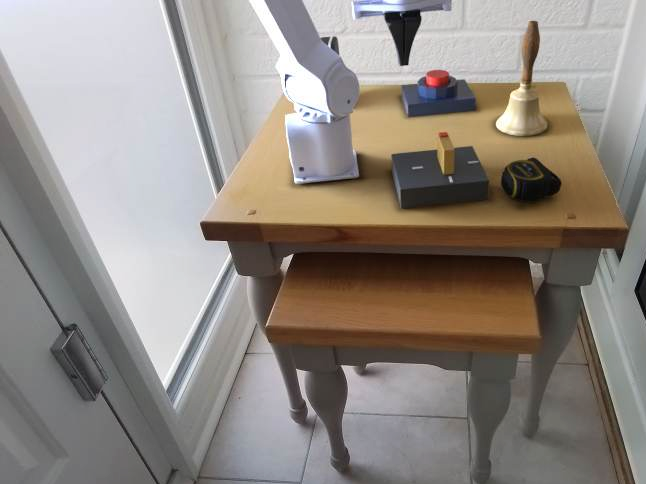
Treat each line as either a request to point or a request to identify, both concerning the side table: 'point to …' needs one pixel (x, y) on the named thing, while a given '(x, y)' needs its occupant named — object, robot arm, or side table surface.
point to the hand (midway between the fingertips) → (403, 63)
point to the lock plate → (438, 178)
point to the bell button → (437, 78)
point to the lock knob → (445, 153)
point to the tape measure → (529, 180)
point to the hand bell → (525, 93)
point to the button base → (437, 97)
